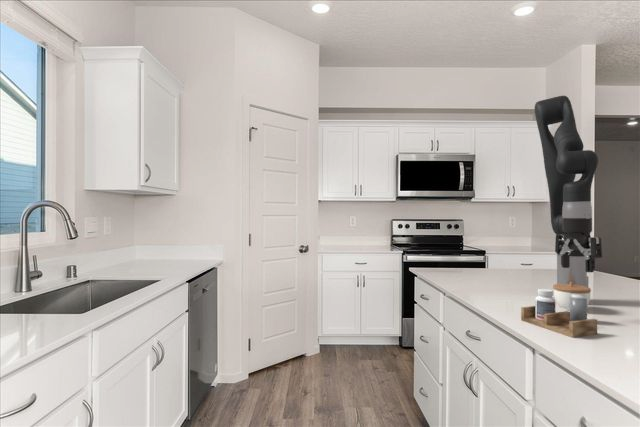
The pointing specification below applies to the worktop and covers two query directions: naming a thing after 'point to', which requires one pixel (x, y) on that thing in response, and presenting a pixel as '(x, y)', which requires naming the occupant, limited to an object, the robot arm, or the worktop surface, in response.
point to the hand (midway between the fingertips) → (577, 269)
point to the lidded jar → (569, 294)
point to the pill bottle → (544, 303)
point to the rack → (560, 322)
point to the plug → (578, 307)
